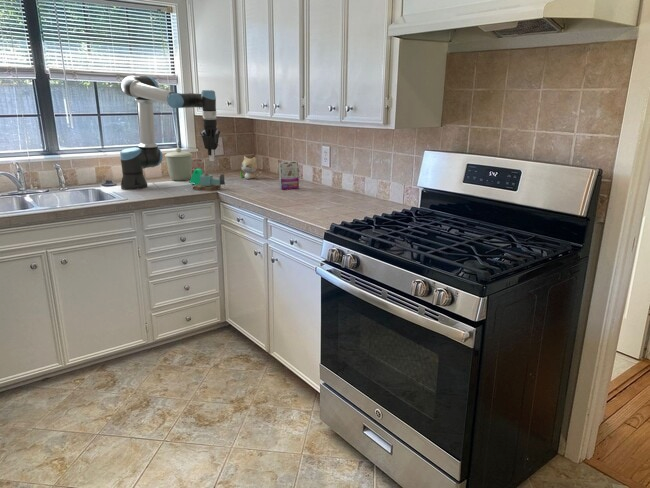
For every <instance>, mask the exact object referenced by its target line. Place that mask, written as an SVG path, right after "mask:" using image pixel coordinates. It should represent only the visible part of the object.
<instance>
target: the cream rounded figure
mask: <svg viewBox="0 0 650 488" xmlns="http://www.w3.org/2000/svg"><path fill="white" fill-rule="evenodd" d="M240 167H241V170H240V172H239V175H240V178H241V179H243V178H245V180H249V179H250V180H252V179H255V178H257V177H259V176H261V175H262V171H259V172H258V173H256V175H255V172H257V169H258V163H257V156H254V157H252V158H248V157H247V156H245V155H243V161H242V162H241V166H240ZM242 172H243V173H245V174H244V175H243V174H242Z"/></svg>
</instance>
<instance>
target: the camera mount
mask: <svg viewBox="0 0 650 488" xmlns="http://www.w3.org/2000/svg"><path fill="white" fill-rule="evenodd" d="M192 172H193V173H191V178H190V179H189V183H190V184H194V186H195V185H197V184H200V176H202V175H203V174H204V172H203V169H201V168H195V169H194V170H193V171H192Z"/></svg>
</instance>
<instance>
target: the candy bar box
mask: <svg viewBox="0 0 650 488" xmlns="http://www.w3.org/2000/svg"><path fill="white" fill-rule="evenodd" d="M299 177H300V176H299V162H298V161H297V160H291V161H290V160H289V161H278V178H279V183H278V185H279V190H281V191H284V190H285V191H286V190H287V189H288V190H298V189H300V187H299V183H300V182H299Z"/></svg>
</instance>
